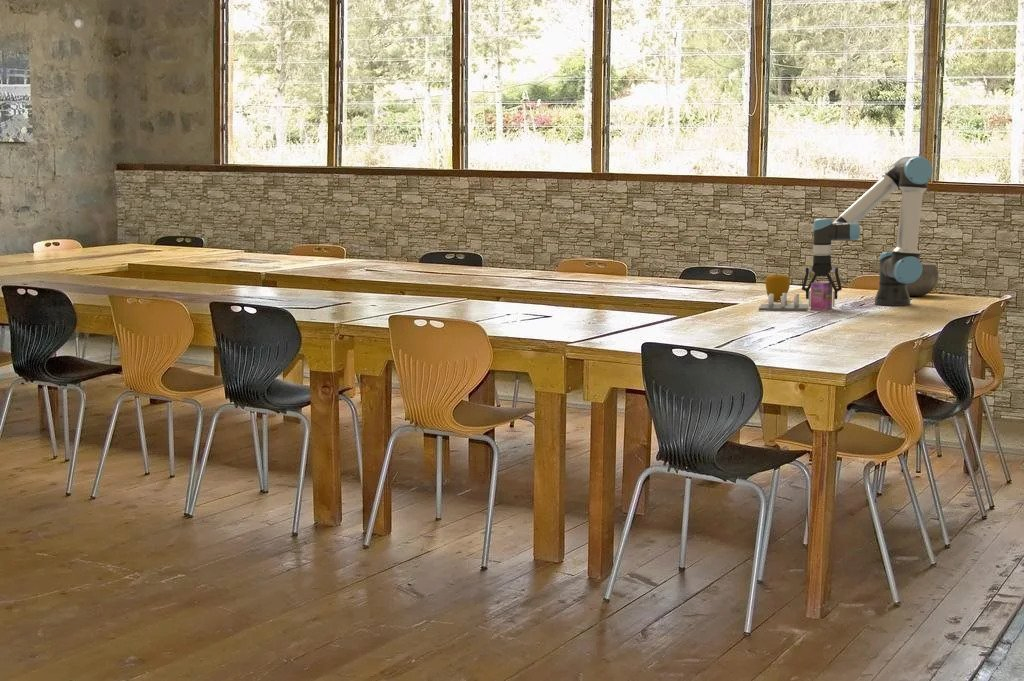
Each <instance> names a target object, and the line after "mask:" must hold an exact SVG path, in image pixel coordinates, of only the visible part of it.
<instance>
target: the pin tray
mask: <svg viewBox="0 0 1024 681" xmlns="http://www.w3.org/2000/svg"><path fill="white" fill-rule="evenodd" d="M787 296H788V293H783V296H781V301H780V303H775V301H774V294H770V295H769V296H768V295H767V297H768V303H762V304H760V306H759V307H758V311H759V310H770V311H769V312H807V311H808V309H809V303H807V304H806V303H803V304H800V293H795V294H794V295H793V303H787V302H788V300H787V299H788V297H787Z"/></svg>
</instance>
